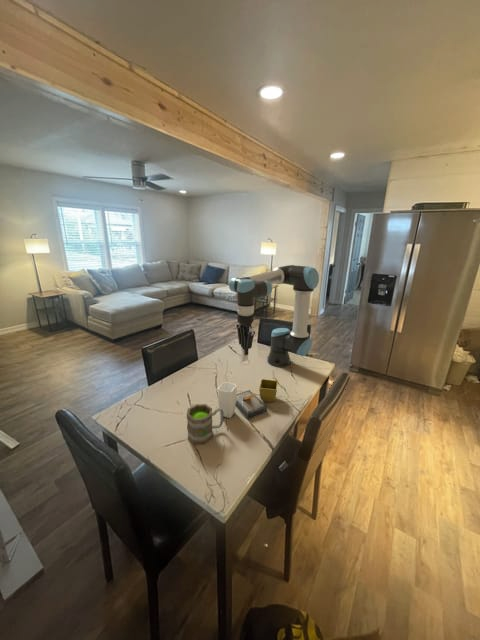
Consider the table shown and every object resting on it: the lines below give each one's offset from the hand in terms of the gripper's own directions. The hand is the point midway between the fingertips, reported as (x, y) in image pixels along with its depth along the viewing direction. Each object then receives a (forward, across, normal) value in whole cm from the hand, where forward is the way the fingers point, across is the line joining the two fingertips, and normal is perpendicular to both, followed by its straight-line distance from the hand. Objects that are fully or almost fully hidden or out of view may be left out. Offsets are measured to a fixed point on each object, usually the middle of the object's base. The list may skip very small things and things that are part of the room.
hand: (244, 359), depth 127 cm
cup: (+23, +5, -13) cm, 27 cm away
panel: (+23, +5, -1) cm, 24 cm away
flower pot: (+24, +5, +11) cm, 27 cm away
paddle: (+19, +3, -1) cm, 19 cm away
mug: (+23, +12, -27) cm, 37 cm away
